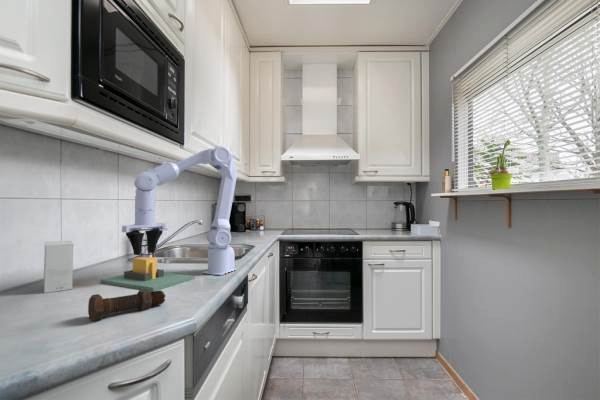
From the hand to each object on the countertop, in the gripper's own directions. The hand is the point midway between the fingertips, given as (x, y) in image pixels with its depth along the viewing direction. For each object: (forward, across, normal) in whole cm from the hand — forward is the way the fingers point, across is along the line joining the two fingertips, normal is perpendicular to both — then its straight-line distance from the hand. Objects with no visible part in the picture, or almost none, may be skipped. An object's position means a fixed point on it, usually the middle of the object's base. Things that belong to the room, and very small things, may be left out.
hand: (144, 253), depth 101 cm
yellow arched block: (+7, 0, 0) cm, 7 cm away
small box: (+9, +17, -14) cm, 24 cm away
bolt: (+9, +22, +22) cm, 32 cm away
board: (+8, 0, +2) cm, 9 cm away
